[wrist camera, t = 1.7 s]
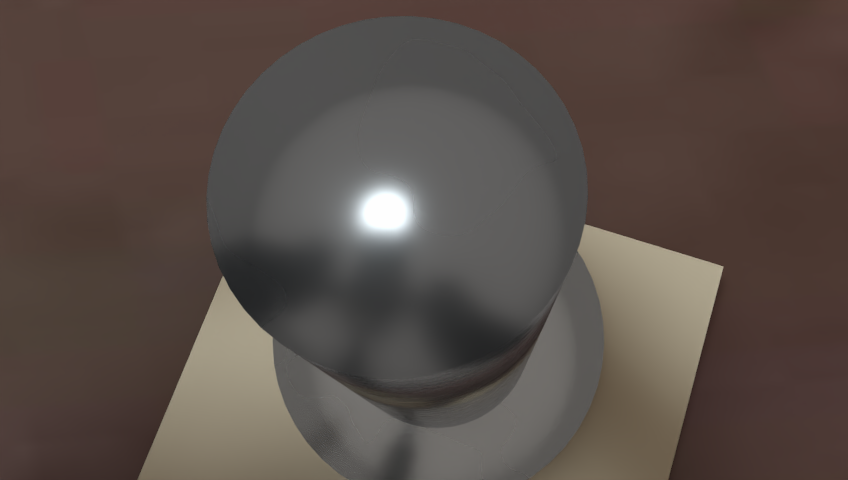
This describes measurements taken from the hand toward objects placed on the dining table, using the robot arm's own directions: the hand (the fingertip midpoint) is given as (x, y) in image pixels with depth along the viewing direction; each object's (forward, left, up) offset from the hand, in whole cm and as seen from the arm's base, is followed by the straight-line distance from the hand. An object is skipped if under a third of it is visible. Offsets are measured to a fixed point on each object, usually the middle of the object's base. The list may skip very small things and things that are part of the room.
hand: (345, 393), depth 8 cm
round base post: (+1, -1, -9) cm, 9 cm away
